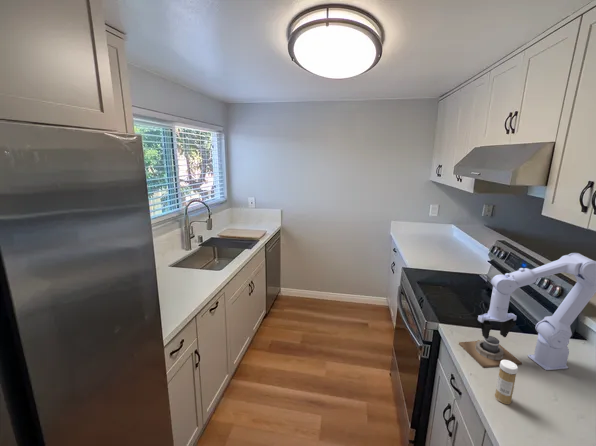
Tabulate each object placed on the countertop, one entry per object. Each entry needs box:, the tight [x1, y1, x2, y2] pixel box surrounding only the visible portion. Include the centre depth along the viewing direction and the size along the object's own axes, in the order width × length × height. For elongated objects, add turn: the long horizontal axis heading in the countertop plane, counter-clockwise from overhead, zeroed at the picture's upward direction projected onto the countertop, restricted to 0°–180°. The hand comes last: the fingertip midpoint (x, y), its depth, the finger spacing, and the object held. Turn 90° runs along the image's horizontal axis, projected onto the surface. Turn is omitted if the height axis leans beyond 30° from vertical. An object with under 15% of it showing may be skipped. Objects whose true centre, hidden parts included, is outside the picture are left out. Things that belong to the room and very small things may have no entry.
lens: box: [483, 335, 500, 353], centre depth 113 cm, size 5×5×6 cm
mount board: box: [458, 339, 523, 368], centre depth 114 cm, size 16×14×3 cm
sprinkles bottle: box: [494, 360, 519, 405], centre depth 91 cm, size 5×5×14 cm
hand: (494, 336), depth 112 cm, fingers open, 7 cm apart
